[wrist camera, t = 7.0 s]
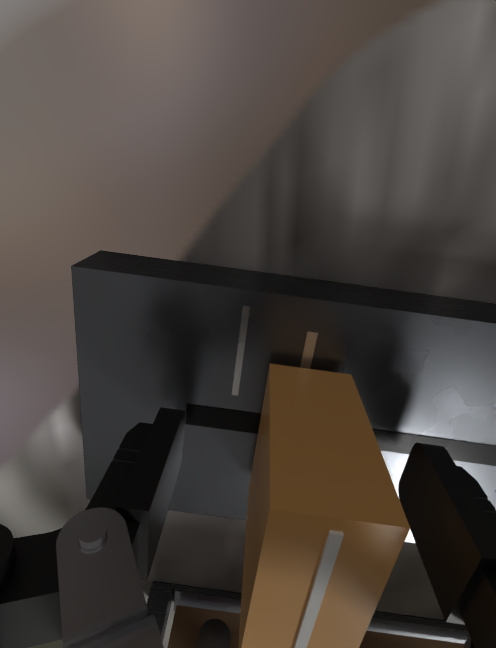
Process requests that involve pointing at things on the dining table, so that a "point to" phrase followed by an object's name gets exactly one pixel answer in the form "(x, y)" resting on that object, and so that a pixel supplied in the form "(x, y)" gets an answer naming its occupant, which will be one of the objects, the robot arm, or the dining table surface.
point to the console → (272, 348)
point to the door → (223, 628)
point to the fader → (316, 516)
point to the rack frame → (232, 603)
